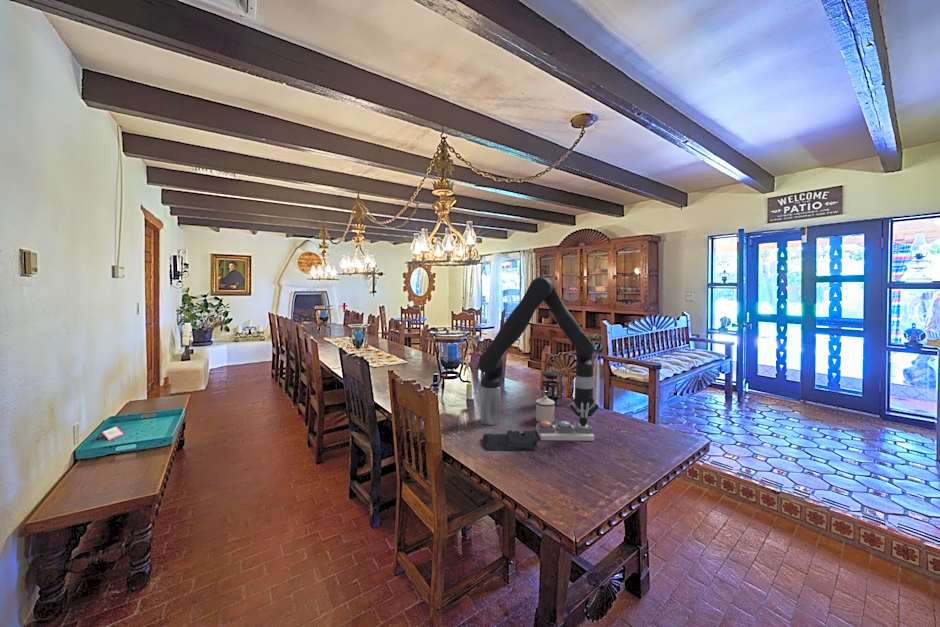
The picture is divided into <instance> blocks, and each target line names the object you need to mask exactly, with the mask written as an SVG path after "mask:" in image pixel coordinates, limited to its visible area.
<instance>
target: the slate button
mask: <svg viewBox="0 0 940 627" xmlns="http://www.w3.org/2000/svg"><path fill="white" fill-rule="evenodd" d="M558 423H559V428H570V424H571V423H570V422H569V421H567V420H561V421H559V422H558Z"/></svg>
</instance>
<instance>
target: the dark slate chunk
mask: <svg viewBox="0 0 940 627" xmlns="http://www.w3.org/2000/svg"><path fill="white" fill-rule="evenodd" d="M538 441H539V440H538V438H537V436H536V433H535V431H534V430H523V431H522V432H520V431H519V430H507V431H506V433H484V434H483V435H482V444H483V447H484V449H485V450H486V452H535V451H536V450H538V447H537V444H538V443H537V442H538Z"/></svg>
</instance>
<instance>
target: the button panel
mask: <svg viewBox="0 0 940 627" xmlns="http://www.w3.org/2000/svg"><path fill="white" fill-rule="evenodd" d="M578 424H580V423H579V422H573V424H571V423H570V428H559V422H554V424H553V422H552V423H551V428H541V427H540V425H541V422H537V423H536V426H535V429H536V432H537V434H538V436H539V439H540V441H578V442H579V441H585V442H586V441H592V442H594V441H595V435H594V434H593V431H594V429H593V427H592V426H591V425H590V423H589V422H587V425H588V428H578Z"/></svg>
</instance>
